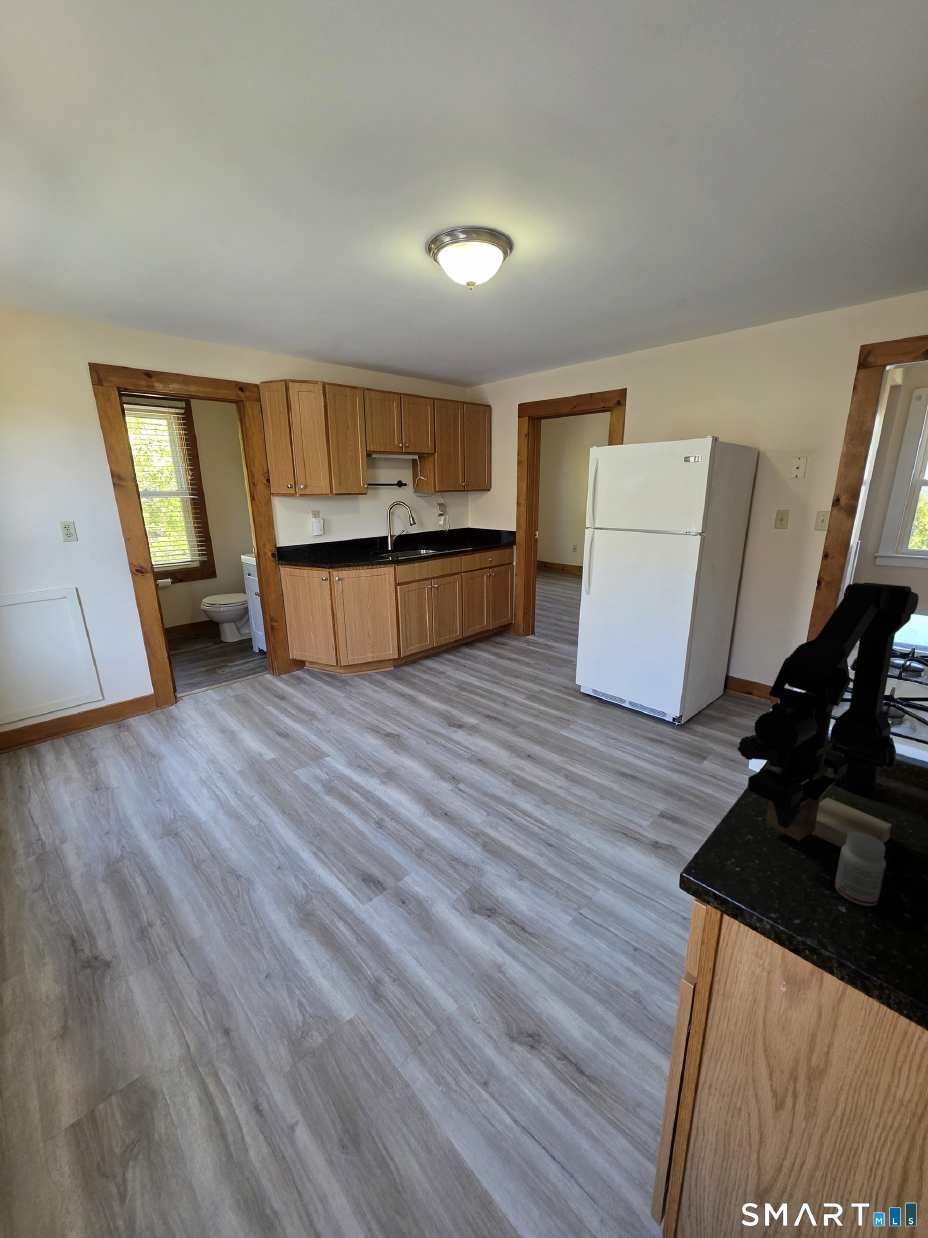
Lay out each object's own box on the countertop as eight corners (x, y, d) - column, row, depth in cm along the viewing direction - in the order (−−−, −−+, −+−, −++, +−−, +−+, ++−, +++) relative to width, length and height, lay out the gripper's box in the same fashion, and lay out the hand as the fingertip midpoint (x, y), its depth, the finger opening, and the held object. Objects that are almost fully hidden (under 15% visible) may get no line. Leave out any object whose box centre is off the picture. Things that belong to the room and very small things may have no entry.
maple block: (824, 812, 85) (827, 797, 84) (888, 841, 78) (891, 824, 77) (799, 829, 81) (802, 814, 80) (864, 861, 73) (868, 844, 72)
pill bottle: (886, 910, 64) (898, 855, 62) (846, 904, 65) (856, 850, 63) (865, 883, 68) (875, 832, 66) (827, 878, 69) (836, 827, 67)
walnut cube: (781, 813, 81) (785, 787, 80) (814, 830, 77) (819, 802, 76) (765, 823, 79) (769, 796, 78) (798, 841, 74) (803, 812, 73)
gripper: (781, 703, 85) (770, 781, 89) (719, 727, 76) (710, 814, 80) (855, 726, 76) (840, 812, 80) (796, 757, 67) (781, 853, 70)
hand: (791, 821), depth 77 cm, fingers closed on walnut cube, 5 cm apart
